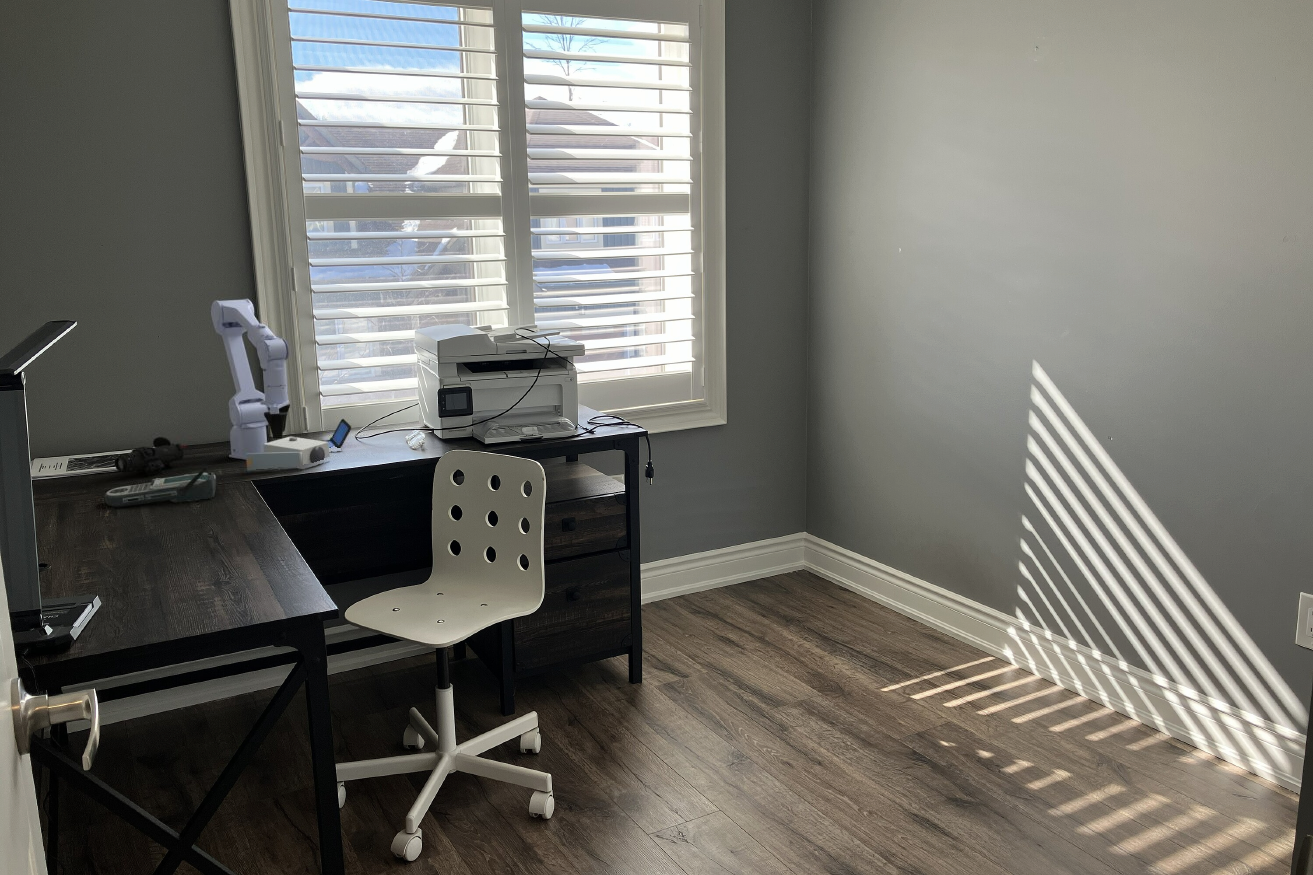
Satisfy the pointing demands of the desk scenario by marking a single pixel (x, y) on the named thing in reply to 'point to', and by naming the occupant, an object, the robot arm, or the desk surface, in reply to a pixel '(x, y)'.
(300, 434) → the desk surface
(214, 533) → the desk surface
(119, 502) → the communication device
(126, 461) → the night vision scope
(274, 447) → the camera body
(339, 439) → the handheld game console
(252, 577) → the desk surface
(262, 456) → the side door
